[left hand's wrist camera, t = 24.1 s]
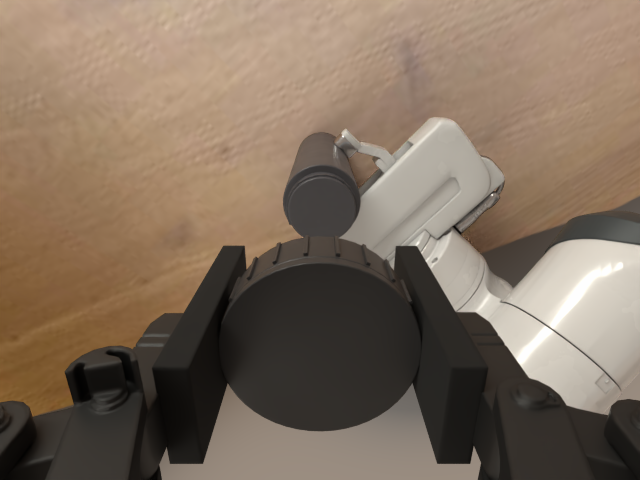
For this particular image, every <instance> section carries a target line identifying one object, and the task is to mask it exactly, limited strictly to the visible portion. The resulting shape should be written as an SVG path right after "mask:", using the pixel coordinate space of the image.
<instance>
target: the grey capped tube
mask: <svg viewBox="0 0 640 480" xmlns="http://www.w3.org/2000/svg"><path fill="white" fill-rule="evenodd" d="M335 139H336V137H335V136H333V135H331V134H328V133H315V134H312V135H310V136H308V137H307V138H306V139H305V140H304V141H303V142H302V143H301V145H300V147H299V150H298V153H297V156H296V159H295V162H294V165H293V168H292V171H291V174H290V177H289V180H288V183H287V186H286V189H285V192H284V197H283V207H284V211H285V215H286V217H287V219H288V221H289V224H290V225H292V226H293V228H294V229H295V230H296V231H297V232H298V233H299V234H300V235H301V236H303V237H304V238H305V235H309V237H316V236H321V237H334V236H338V237H339V238H340V237H341V236H343V235H344V234H345V233H346V232H347V231H348V230H349V229H350V228H351V226H352V225H353V223H354V222H355V220H356V218H357V216H358V214H359V211H360V204H361V199H360V193H359V190H358V187H357V184H356V181H355V178H354V175H353V172H352V170H351V167H350V164H349V161H348V158H347V156H346V155H345V154H344V152H343V150H342V149H339V148H338V147H337V146H336V145H335V144H334V142H333V141H334V140H335Z"/></svg>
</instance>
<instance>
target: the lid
mask: <svg viewBox="0 0 640 480" xmlns="http://www.w3.org/2000/svg"><path fill="white" fill-rule="evenodd" d="M228 301H230V302H229V304H228V307H227V309H226V311H225V314H224V316H223V319H222V321H221V328H220V332H219V338H218V346H219V356H220V364H221V368H222V371H223V374H224V376H225V378H226V380H227V382H228V384H229V386H230V387H231V389H232V390H233V391H234V393H235V394H236V395H237V396H238V398H239V399H240V400H241V401H242V402H243V403H244V404H245V405H247V406H248V407H249V408H251V409H252V410H253V411H254V412H256V413H258V414H259V415H261V416H262V417H264V418H266V419H268V420H270V421H273V422H275V423H277V424H281V425H283V426H286V427H290V428H294V429H299V430H307V431H334V430H340V429H346V428H349V427H353V426H357V425H360V424H362V423H365V422H367V421H370V420H372V419H373V418H376V417H377V416H379V415H381V414H382V413H384V412H385V411H387V410H388V409H390V408H391V407H392V406H393V405H394V404H395V403H397V402H398V401H399V399H400V398H401V397H402V396H403V395H404V394H405V393H406V391H407V390H408V388H409V387H410V386H411V384H412V382H413V380H414V378H415V376H416V374H417V371H418V368H419V365H420V358H421V348H422V339H421V333H420V328H419V324H418V322H417V319H416V316H415V314H414V312H413V309H412V307H411V304H413V302H412V299H411V297H410V295H409V292H408V290H407V287H406V285H405V283H404V281H403V279H402V280H400V279H399V277H398V276H397V274H396V273H395V271H394V270H393V269H392V268H391V266H390V263H389V261H388V260H387V259H385V260H383V259H382V258H381V257H380V256H379V255H377V254H376V253H374V252H373V251H371V250H369V249H368V248H367V247H366V245H365V244H362V245H359V244H357V243H355V242H352V241H348V240H345V239H340V238H339V237H338V236H334V237H321V236H316V237H309V235H305V238H300V239H295V240H291V241H288V242H285V243H283V244H281V243H277V246H276V247H274V248H272V249H270V250H269V251H267V252H266V253H264V254H263V255H261V256H260V257H259V258H257V257H255V258H254V259H253V262H252V264H251V265H250V267H249V268H248V269H247V270H246V271H245V273H244V274H243V276H242V277H238V279H237V281H236V283H235V286H234V288H233V290H232V293H231V295H230V298H229V300H228Z"/></svg>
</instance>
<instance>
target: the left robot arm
mask: <svg viewBox="0 0 640 480" xmlns="http://www.w3.org/2000/svg"><path fill="white" fill-rule="evenodd" d="M245 271H246V258H245V246H223V247H222V249H221V251H220V253H219V254H218V256H217V258H216V259H215V261H214V263H213V264H212V266H211V268H210V270H209V271H208V273H207V275H206V276H205V278H204V280H203V281H202V283H201V285H200V287H199V288H198V290H197V292H196V293H195V295H194V297H193V298H192V300H191V302H190V304H189V305H188V307H187V309H186V310H185V312H184V313H165V314H163V315H162V316H160V317H159V318H158V319H156V320H155V321H153V322H152V323H151V324H150V325H149V327H148V328H147V329H146V331H145V332H144V334H143V337H141V338H140V339H139V341H138V342H137V344H136V347H134V348H133V349H131V348H128V347H124V346H108V347H104V348H100V349H96V350H93V351H91V352H89V353H86V354H84V355H82V356H81V357H79V358H78V359H76V360H75V361H74V362H72V363H71V364H70V366H69V367H68V368H67V369H66V371H65V375H66V378H67V382H68V385H69V388H70V392H71V395H72V399H73V402H74V406H73V407H72V408H68V409H65V410H61V411H57V412H52V413H48V414H44V415H39V416H35V417H32V414H31V411H30V408H29V407H28V406H27V405H26V404H25V403H23V402H18V401H7V402H0V480H162V478H161V471H160V467H159V464H160V461H161V459H162V457H163V454H164V452H165V449H166V447H167V450H168V456H169V461H170V464H203V462H204V458H205V455H206V452H207V449H208V445H209V442H210V439H211V436H212V432H213V429H214V426H215V423H216V419H217V416H218V413H219V410H220V406H221V403H222V400H223V396H224V393H225V390H226V387H227V383H228V382H227V380H226V378H225V376H224V374H223V371H222V368H221V364H220V356H219V346H218V338H219V332H220V328H221V321H222V319H223V316H224V314H225V311H226V309H227V307H228V304H229V302H230V301H228V300H229V298H230V295H231V293H232V290H233V288H234V286H235V283H236V281H237V279H238V277H242V276H243V274H244V273H245ZM394 271H395V273H396V274H397V276H398V277H399V279H400V280H402V279H403V281H404V283H405V285H406V287H407V290H408V292H409V295H410V297H411V299H412V302H413V304H411V307H412V309H413V312H414V314H415V316H416V319H417V322H418V324H419V328H420V333H421V339H422V348H421V358H420V365H419V368H418V371H417V374H416V376H415V378H414V380H413V382H412V383H413V386H414V389H415V392H416V396H417V399H418V402H419V405H420V409H421V412H422V415H423V419H424V422H425V425H426V428H427V432H428V435H429V438H430V441H431V445H432V448H433V451H434V454H435V458H436V461H437V463H438V464H470V462H471V457H472V452H473V446H474V447H475V449H476V452H477V454H478V456H479V459H480V461H481V467H480V472H479V476H478V480H640V401H638V400H631V399H626V400H619V401H617V402H616V403H614V404H613V405H612V406H611V409H610V412H609V415H604V414H600V413H595V412H591V411H586V410H582V409H578V408H574V407H571V406H567V405H566V403H565V402H564V400H563V399H562V397H561V396H560V395H559V394H558V393H557V392H556V391H555V390H553V389H552V388H551V387H550V386H548V385H546V384H544V383H542V382H540V381H538V380H534V379H531V378H529V377H528V376H527V374H526V373H525V371H524V370H523V369H522V367H521V366H520V364H519V363H518V361H517V360H516V359H515V357H514V356H513V354H512V353H511V352H510V350H509V349H508V347H507V346H505V343H504V342H503V340H502V339H501V337H500V336H498V333H497V332H496V330H495V329H494V327H493V326H492V325H491V323H490V322H489V321H488V320H486V319H485V318H483V317H482V316H480V315H479V314H478V313H476V312H455V310H454V308H453V306H452V305H451V303H450V301H449V300H448V298H447V296H446V295H445V293H444V291H443V289H442V288H441V286H440V284H439V283H438V281H437V279H436V278H435V276H434V274H433V272H432V271H431V269H430V267H429V266H428V264H427V262H426V261H425V259H424V257H423V255H422V254H421V252H420V250H419V249H418V247H417V246H396V248H395V261H394Z"/></svg>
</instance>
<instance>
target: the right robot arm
mask: <svg viewBox="0 0 640 480" xmlns="http://www.w3.org/2000/svg"><path fill="white" fill-rule="evenodd" d="M333 142H334V144H335V145H336V146H337V147H338V148H339V149H342V150H343V152H344V154H345V155H346V156H347V157H348V158H350V157H351V156H352V155H353V154H354V153H355V152H356V151H357V152H359V153H363V154H367V155H371V156H374V157H373V159H372V160H373V161H374V163H375V164H376V165H377V166H378V167H379V169H378V170H377V171H376V172H375V173H374V174H373V175H372V176H371V177H370V178H369V179H368V180H367V181H366V182H365V183H364V184H363V185H362V186H361V187H360V188H359V189H358V190H359V193H360V199H361V204H360V211H359V214H358V216H357V218H356V220H355V222H354V223H353V225H352V226H351V228H350V229H349V230H348V231H347V232H346V233H345V234H344V235H343V236H341V237H340V239H345V240H348V241H352V242H355V243H357V244H359V245H362V244H365V245H366V247H367V248H368V249H369V250H371V251H373V252H374V253H376V254H377V255H379V256H380V257H381V258H382V259H383V260H385V259H387V260H388V261H389V263H390V266H391V268H392V269H393V270H394V261H395V248H396V246H417V247H418V249H419V250H420V252H421V254H422V255H423V257H424V259H425V261H426V262H427V264H428V266H429V267H430V269H431V271H432V272H433V274H434V276H435V278H436V279H437V281H438V283H439V284H440V286H441V288H442V289H443V291H444V293H445V295H446V296H447V298H448V300H449V301H450V303H451V305H452V306H453V308H454V310H455V312H476V313H478V314H479V315H480V316H482V317H483V318H485V319H486V320H488V321H489V322H490V323H491V325H492V326H493V327H494V329H495V330H496V332H497V333H498V336H500V337H501V339H502V340H503V342H504V343H505V346H507V347H508V349H509V350H510V352H511V353H512V354H513V356H514V357H515V359H516V360H517V361H518V363H519V364H520V366H521V367H522V369H523V370H524V371H525V373H526V374H527V376H528V377H529V378H531V379H534V380H538V381H540V382H542V383H544V384H546V385H548V386H550V387H551V388H552V389H553V390H555V391H556V392H557V393H558V394H559V395H560V396H561V397H562V399H563V400H564V402H565V403H566V405H567V406H571V407H574V408H578V409H582V410H586V411H591V412H595V413H600V414H604V413H605V412H606V411H607V409H608V408H609V407H610V406H611V405H612V404H613V403H614V402H615V401H616V400H617V399H618V398H619V396H620V395H621V394H622V391H623V390H624V389H625V388H626V387H627V386H628V385H629V384H630V383H631V382H632V380H633V379H634V378H635V377H636V376H637V375H638V374H639V373H640V214H637V213H633V212H627V211H605V212H598V213H591V214H587V215H582V216H578V217H575V218H572V219H571V220H569V221H568V222H567V223H566V225H565V226H564V227H563V229H562V230H561V231H560V233H559V234H558V235H557V237H556V238H555V239H554V241H553V242H552V243H551V245H550V246H549V247H548V249H547V250H546V251H545V253H544V256H543V257H542V258H541V259H540V260H539V261H538V262H537V263H536V264H535V266H534V267H533V268H532V269H531V270H530V271H529V272H528V273H527V274H526V275H525V277H524V278H523V279H522V280H521V281H520V282H519V283H518V284H517V285H516V287H515V288H513V287H512V286H511V285H510V284H509V283H508V282H507V281H505V280H504V279H502V278H500V277H498V276H496V275H495V274H493V273H492V272H491V270H490V268H489V266H488V264H487V262H486V260H485V259H484V258H483V256H482V255H481V254H480V253H479V252H478V251H477V250H476V249H475V248H474V247H473V246H472V245H471V244H470V243H469V242H468V241H467V240H466V239H465V238H464V237H463V236H462V234H461V233H463V232H464V231H465V230H466V229H467V228H468V227H469V226H471V225H472V224H473V223H474V222H475V221H476V220H477V219H478V218H479V216H481V214H483V213H484V212H485V211H486V210H487V209H490V208H491V207H492V206H494V205H495V204H496V203H497V202H498V200H499V199H500V196H499V194H500V193H501V191H502V189H503V187H504V182H505V178H504V175H503V172H502V171H501V170H500V168H499V167H498V166H497V165H496V164H495V163H494V162H493V161H492V160H491V159H490V158H488V157H486V156H482V155H479V153H478V151H477V150H476V148H475V147H474V145H473V144H472V142H471V141H470V140H469V138H468V137H467V135H466V134H465V133H464V132H463V130H462V129H461V128H460V127H459V125H458V124H457V123H456V122H454V121H453V120H451V119H449V118H444V117H432V118H430V119H428V120H427V121H426V122H425V123H424V124H423V125H422V126H421V127H420V128H419V129H418V130H417V131H416V132H415V133H414V134H413V135H412V136H411V137H410V138H409V139H408V140H407V141H406V142H405V143H404V144H403V145H402V146H401V147H400V148H399V149H398V150H397V151H396V152H395V153H394V154H393V155H391V154H390V153H389V152H388V151H387V150H386V149H385V148H384V147H382V146H378V145H373V144H369V143H365V142H359V141H358V140H357V139H356V138H355V137H354V136H353V135H352V134H351V133H350V132H349V131H348V130H347V129H346V128H345V129H344V130H343V131H342V132H341V133H340V134H339V135H338V137H337V138H336V139H335V140H334V141H333ZM497 187H498V188H497ZM496 188H497V190H496V191H494V190H495V189H496ZM453 225H454V226H453Z"/></svg>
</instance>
